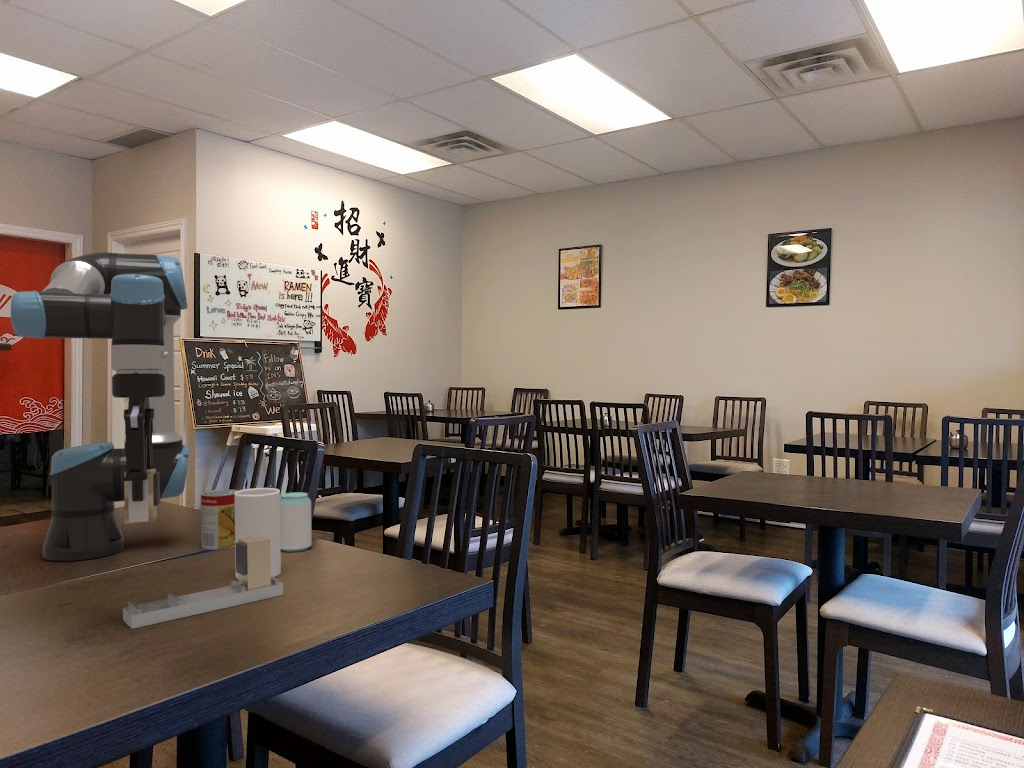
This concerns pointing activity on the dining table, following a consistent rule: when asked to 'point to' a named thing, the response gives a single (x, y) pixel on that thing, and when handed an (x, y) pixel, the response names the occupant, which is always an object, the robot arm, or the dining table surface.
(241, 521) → the cup
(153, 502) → the block
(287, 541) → the can
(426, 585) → the dining table surface
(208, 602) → the rail
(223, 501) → the canned food
